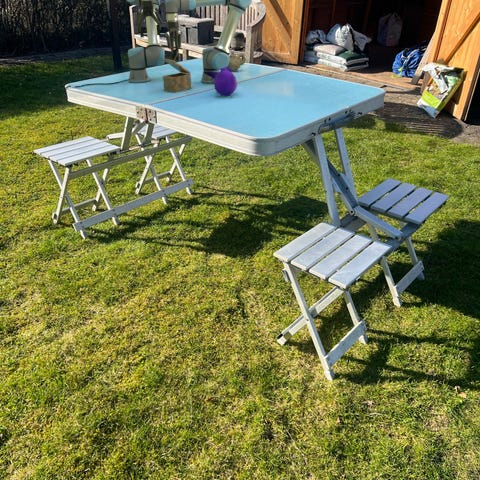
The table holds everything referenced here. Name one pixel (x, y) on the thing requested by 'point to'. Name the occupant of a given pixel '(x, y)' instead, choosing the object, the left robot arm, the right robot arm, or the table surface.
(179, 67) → the lid
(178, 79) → the chest
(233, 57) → the teapot
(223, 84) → the toy
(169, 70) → the table surface
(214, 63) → the right robot arm
